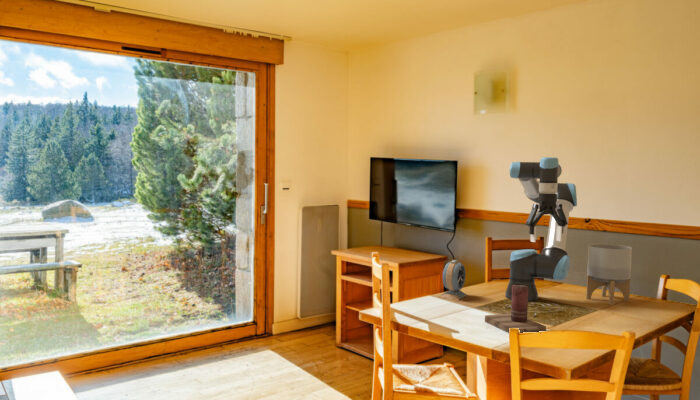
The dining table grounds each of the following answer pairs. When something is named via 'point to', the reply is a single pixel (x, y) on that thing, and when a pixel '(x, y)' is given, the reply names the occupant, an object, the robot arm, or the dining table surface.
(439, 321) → the dining table surface
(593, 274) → the planter
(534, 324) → the board
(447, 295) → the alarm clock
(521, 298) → the can
